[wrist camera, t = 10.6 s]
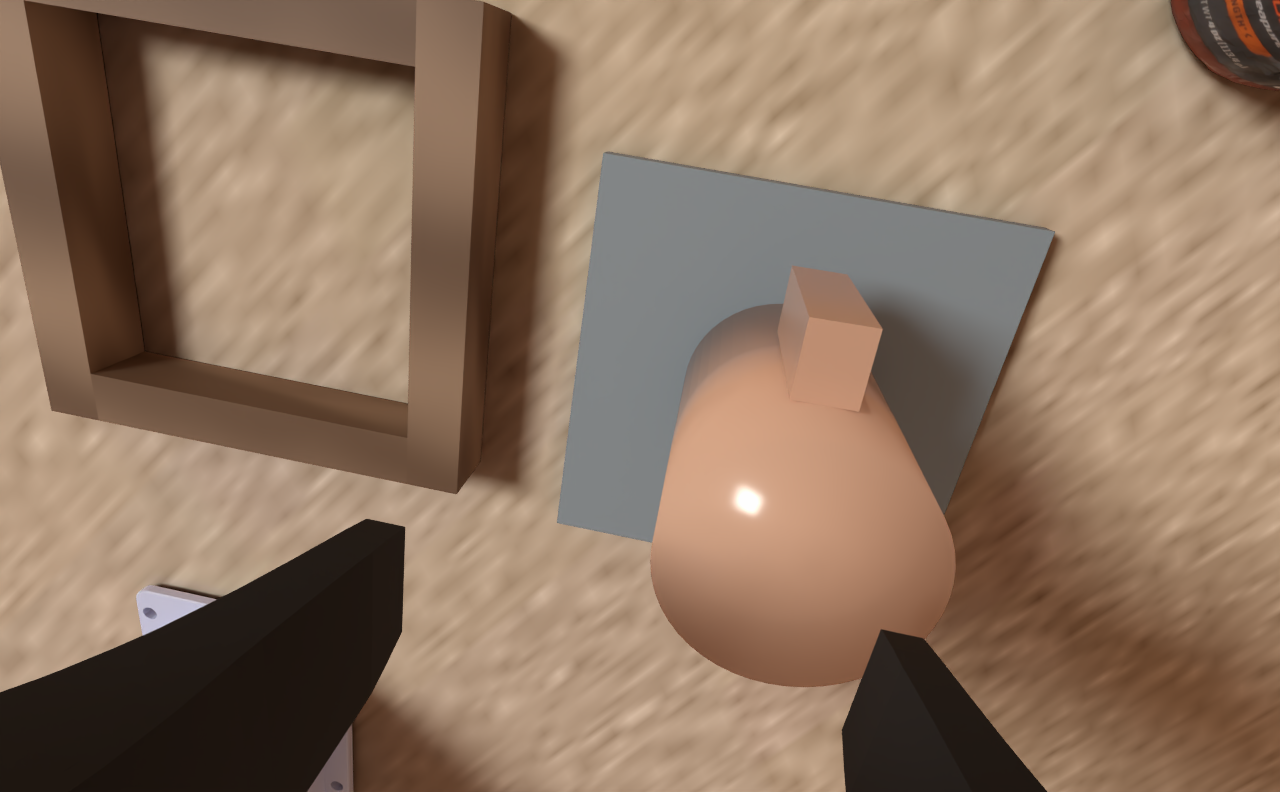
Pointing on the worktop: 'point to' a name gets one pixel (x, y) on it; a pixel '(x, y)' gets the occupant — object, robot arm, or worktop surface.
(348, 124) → the worktop surface
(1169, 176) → the worktop surface
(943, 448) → the mat
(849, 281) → the peach capsule with nub
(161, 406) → the frame
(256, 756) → the robot arm
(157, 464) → the worktop surface
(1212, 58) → the supplement bottle
